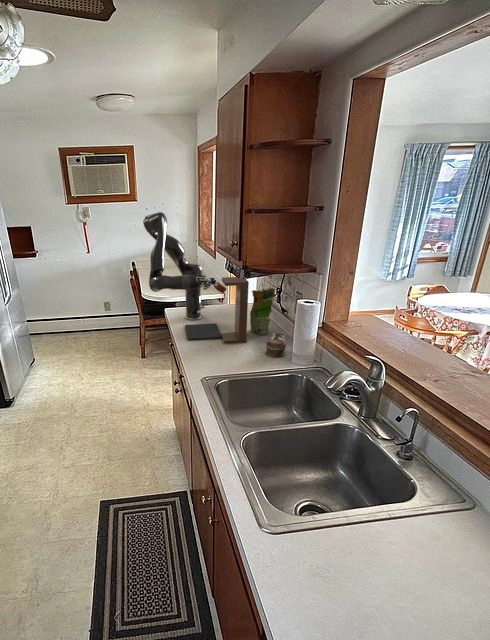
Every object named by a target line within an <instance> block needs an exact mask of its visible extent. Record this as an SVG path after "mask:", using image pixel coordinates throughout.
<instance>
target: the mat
mask: <svg viewBox="0 0 490 640" xmlns="http://www.w3.org/2000/svg"><path fill="white" fill-rule="evenodd" d="M185 331H186V336H187V341H202V340H219V339H220V340H221V339H222V337H221V332H220V330H219V327H218V325H217V323H216V322H215V323H196V324H195V323H194V324H185Z"/></svg>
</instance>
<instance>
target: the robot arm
mask: <svg viewBox="0 0 490 640" xmlns="http://www.w3.org/2000/svg"><path fill="white" fill-rule="evenodd" d="M142 223H143V227H144V228H145V231H146V232H147V234H149V235H150V236H151V237H152V238H153V239H154V240H155V242H154V245H153V248H152V249H151V253H150V258H149V260H150V261H149V262H150V263H149V264H150V271H149V277H148V285H149V289H150V290H151V291H152V292H153V293H158V292H160V291H163V290H170V291H179V290H181V291H185V318H186V320H189V321H196V320H200V319H202V309H203V308H205V305H204V304H203V303H202V297H201V295H202V293H201V291H202V290H201V289H203V290H204V291H206V290H208V289H209V288H211V287H212V285H213V284H216V283H217V280H216V279H215V278H214V277H208V276H206V275H204V274H203V269H202V267H201V265H200V264H198V263H197V264H196V263H189V262H188V261H187V259H186V258H185V248H184V247H183V245H182V243H181V242H180V241H179V239H177V238H176V237H174V236H172V235H169V234H168V233H167V232H168V218H167V216H166V214H165V213H164V212H162V211H158V212H155V213H152V214H151V213H150V214H148V215H146V216H144V217H143V220H142ZM165 253H166V254H167V256H168V257H169V258H170V260H171V261H172V262H173V263H174V265H175V266H176V267H177V269H178V271H179V272H180V274H181V275H172V276H171V275H164V274H163V273H164V271H165ZM205 277H207V278H209V279H210V280H206V279H204V278H205Z"/></svg>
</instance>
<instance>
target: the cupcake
mask: <svg viewBox="0 0 490 640" xmlns="http://www.w3.org/2000/svg"><path fill="white" fill-rule="evenodd" d="M286 341H287V340H286V339H285V334H283V333H276V332H274V333H272V335H271V336H270V337H269V338H268V339H267V342H266V343H265V348H266V354H267V356H269V357H272V358H281V357H283V356H284V354H285V350H286V348H287V342H286Z"/></svg>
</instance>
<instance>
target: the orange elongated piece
mask: <svg viewBox="0 0 490 640" xmlns="http://www.w3.org/2000/svg"><path fill="white" fill-rule="evenodd" d="M207 277H208V276H206V277H205V278H204V279H206V280H210V279H209V278H210V277H208V278H207ZM212 285H213V288H214V289H215V290H216V291H217V292H219V293H221V294H225V292H226V291H227V290H228V288H227V286H225V285H224V284H223V283H221V282H220V281H216V284H212Z"/></svg>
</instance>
